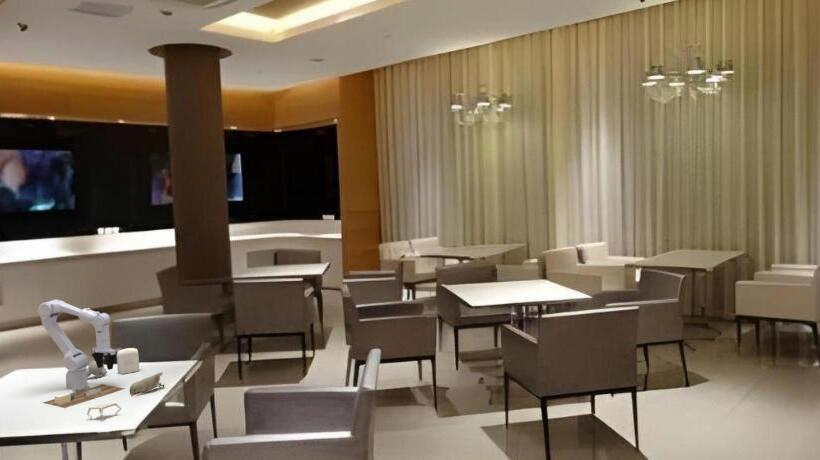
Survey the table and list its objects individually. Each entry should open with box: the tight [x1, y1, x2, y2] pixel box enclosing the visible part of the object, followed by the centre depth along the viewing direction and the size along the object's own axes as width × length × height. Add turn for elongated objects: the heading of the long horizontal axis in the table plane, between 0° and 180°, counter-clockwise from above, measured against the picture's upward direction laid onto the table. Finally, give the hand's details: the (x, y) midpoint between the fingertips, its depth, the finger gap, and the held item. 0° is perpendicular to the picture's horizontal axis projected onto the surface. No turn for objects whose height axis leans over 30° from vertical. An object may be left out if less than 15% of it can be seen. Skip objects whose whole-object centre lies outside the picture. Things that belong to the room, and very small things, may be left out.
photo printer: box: [116, 347, 140, 375], centre depth 343 cm, size 10×4×12 cm, turn 123°
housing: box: [72, 385, 101, 399], centre depth 304 cm, size 10×7×3 cm
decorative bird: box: [129, 371, 165, 397], centre depth 308 cm, size 5×16×8 cm, turn 140°
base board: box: [42, 384, 126, 409], centre depth 303 cm, size 17×29×1 cm, turn 148°
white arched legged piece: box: [86, 402, 122, 421], centre depth 275 cm, size 12×8×5 cm
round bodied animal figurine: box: [86, 359, 108, 379], centre depth 335 cm, size 7×12×8 cm, turn 116°
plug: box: [53, 392, 74, 405], centre depth 295 cm, size 8×4×3 cm, turn 149°
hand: (105, 368), depth 316 cm, fingers open, 7 cm apart
